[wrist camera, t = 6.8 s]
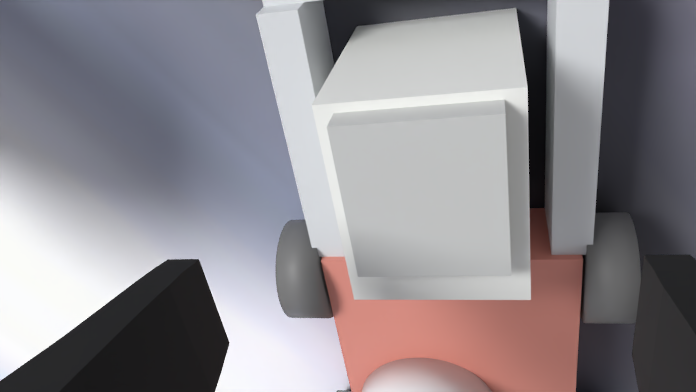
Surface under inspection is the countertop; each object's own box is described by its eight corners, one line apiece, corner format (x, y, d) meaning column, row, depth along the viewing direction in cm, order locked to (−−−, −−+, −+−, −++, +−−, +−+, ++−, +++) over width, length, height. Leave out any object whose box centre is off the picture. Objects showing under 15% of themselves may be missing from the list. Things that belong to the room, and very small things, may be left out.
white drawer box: (520, 181, 17) (532, 319, 13) (384, 187, 18) (349, 317, 14) (515, 7, 15) (530, 101, 10) (357, 25, 16) (303, 118, 11)
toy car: (599, 439, 22) (619, 555, 19) (350, 423, 25) (328, 523, 21) (648, -96, 13) (707, -58, 9) (237, -38, 15) (164, 9, 12)
